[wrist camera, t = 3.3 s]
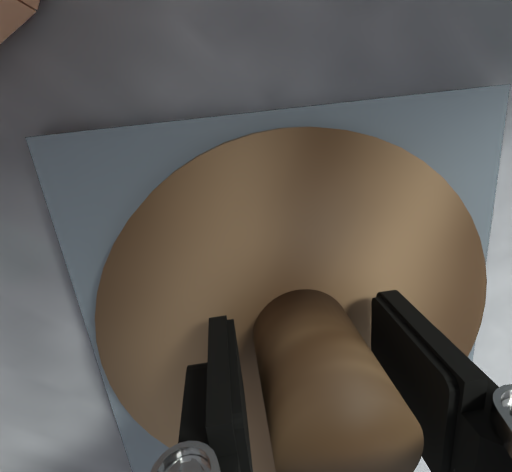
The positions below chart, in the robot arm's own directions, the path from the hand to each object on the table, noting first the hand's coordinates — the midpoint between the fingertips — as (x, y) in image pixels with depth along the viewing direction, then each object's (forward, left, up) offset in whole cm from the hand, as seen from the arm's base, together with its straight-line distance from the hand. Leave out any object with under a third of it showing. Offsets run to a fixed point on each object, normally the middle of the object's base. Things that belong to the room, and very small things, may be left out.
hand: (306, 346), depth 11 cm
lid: (0, 0, -2) cm, 2 cm away
